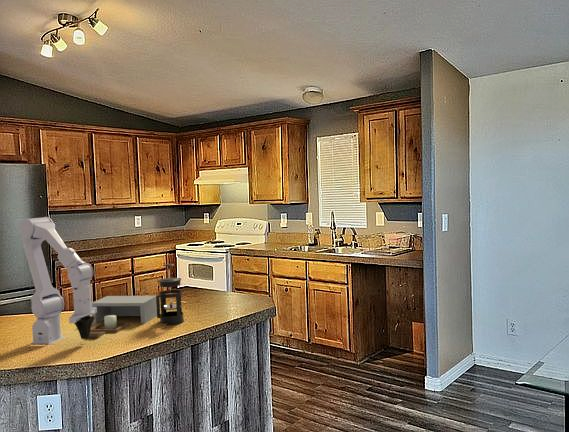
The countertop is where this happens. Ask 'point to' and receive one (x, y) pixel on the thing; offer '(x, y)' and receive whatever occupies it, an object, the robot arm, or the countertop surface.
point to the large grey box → (126, 307)
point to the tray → (105, 330)
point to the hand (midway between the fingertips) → (85, 338)
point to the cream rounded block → (110, 321)
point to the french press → (170, 316)
